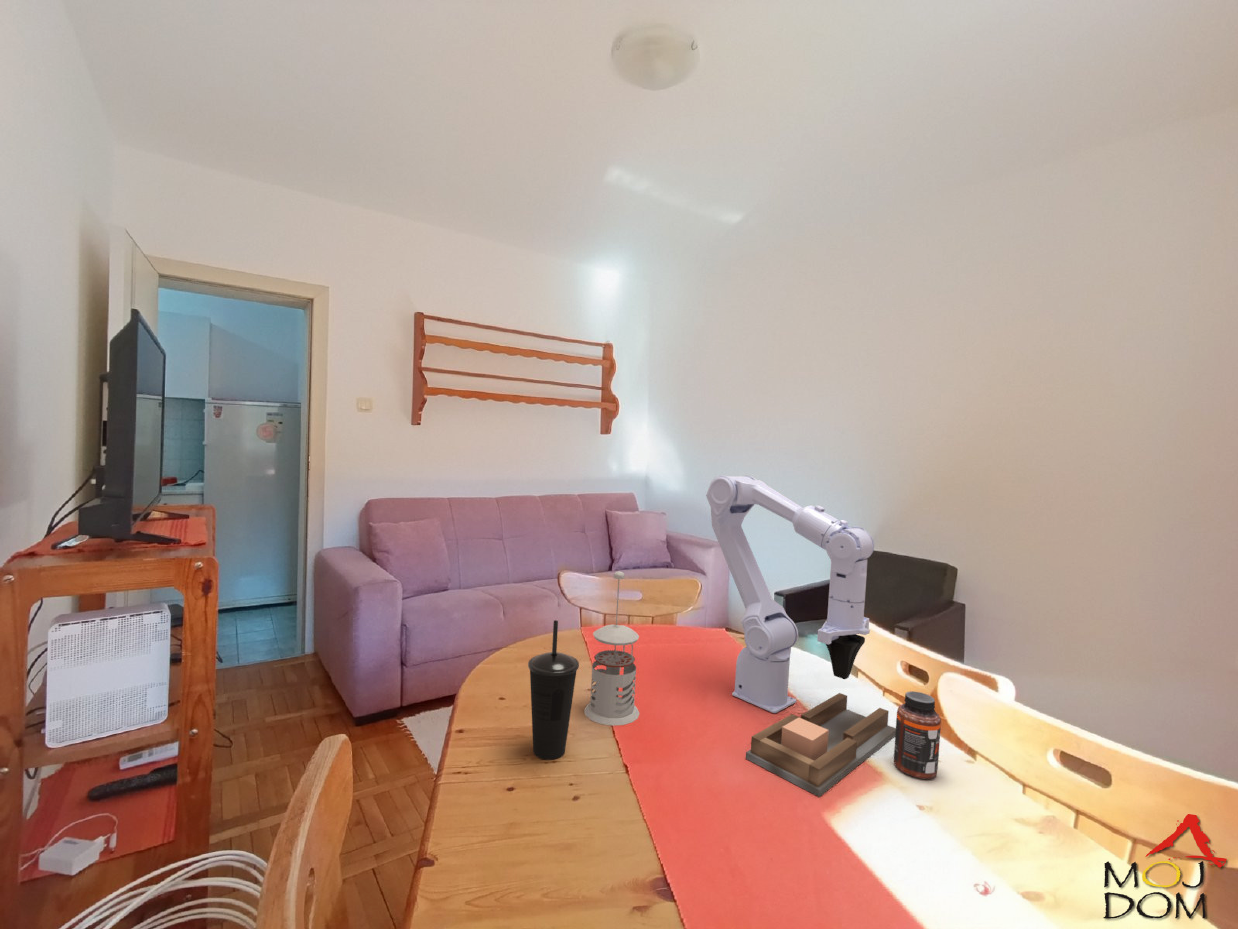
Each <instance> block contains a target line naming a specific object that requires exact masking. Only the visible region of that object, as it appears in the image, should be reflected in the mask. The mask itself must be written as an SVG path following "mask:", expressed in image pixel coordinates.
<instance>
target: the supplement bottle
mask: <svg viewBox="0 0 1238 929" xmlns="http://www.w3.org/2000/svg"><path fill="white" fill-rule="evenodd" d="M904 696H905V697H904V702H905V703H902V704H901V705H898V708H897V710H896V717H895V718H896V720H895V728H896V732H895V737H894V748H893V749H894V750H893V762H894V763H893V764H894V765H895V767H896V768H897V769H898V770H899V771H900V772H902V773H904V774H906V775H908V776H911V777H914V778H917V779H922V780H923V779H924V780H930V779H934V778H935V777H936V776H937V774H938V770H939V769H938V767H939V759H940V758H939V756H940V743H941V742H940V741H941V740H940V739H941V725H942V722H941V721H942V719H941V717H940V715H939V714H938V713H937V712H936V700H935V698H934V697H933V696H931V695H930V694H926V693H923V692H921V691H912V690H911V691H907V692H905V694H904Z"/></svg>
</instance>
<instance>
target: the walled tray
mask: <svg viewBox="0 0 1238 929" xmlns="http://www.w3.org/2000/svg"><path fill="white" fill-rule="evenodd" d="M847 706H848V695H846V694H843V693H841V692H839V693H837V694H834V695H833V696H831V697H830V698H828V699H826V700H824V701H822V702H821V703H819V704H818V705H816V706H814V707H812V708H810V709H808V710H807V711H805V712H803V713H802V714H801V715H800V716H797V715H795V714H793V713H791V714H789V715H787V716H786V717H784V718H782V719H781V720H779V721H777V722H775V723H773V724H772V725H770V726H768V727H766V728H764V729H763V730H761V731H759V732H757V733H756V734H754V735H751V740H750V741H751V742H750V749H749V750H747V751H746V752H745V759H746V760H747V761H750V762H751V763H753V764H755V765H756V766H759V767H761V768H763V769H764V770H766V771H768V772H771V773H772V774H775V775H776V776H778V777H780V778H782V779H784V780H785V781H788V782H790V783H791V784H793V785H796V786H797V787H799V788H801V789H803V790H805V791H807V792H809V793H811V794H812V795H814V796H816V797H817V798H820V797H822V796H823V795H824V794H825V793H827V792H828V791H829V790H830V789H832V787H834V786H835V785H836V784H838V783H839V782H840V781H841V780H843V779H844V778H845V777H846V776H847V775H848V774H850V773H851V772H852V771H853V770H855V769H856V768H858V767H859V766H860V765H861V764H862V763H864V762H865V761H867V759H868V758H870V757H872V755H874V754H875V753H876V752H877V751H878V750H880V749H881V748H883V747H884V746H885V745H886V744H888V743H889V742H890V741H891V740H892V739H893V738H895V732H896V727H894V726H891V725H888V724H889V710H887V709H884V708H881V707H879V708H877V709H876V710H875V711H873V712H871V713H870V714H869V715H867V716H865V715H863V714H860V713H857V712H855V711H852V710H850V709H847ZM797 718H801V719H804V720H806V721H808V722H811V723H813V724H815V725H818V726H820V727H823V728H825V729H827V730H829V733H828V748H827V752H826V753H825V754H823V755H822V756H820V757H819V758H818V759H816V760H815V761H814V760H812V759H810V758H808V757H806V756H803V755H801V754H799V753H797V752H795V751H793V750H791V749H789V748H787V747H785V746H782V745H781V738H782V727H783V726H785V725H786V724H788V723H790V722H792V721H793V720H795V719H797ZM858 765H859V766H858Z"/></svg>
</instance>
